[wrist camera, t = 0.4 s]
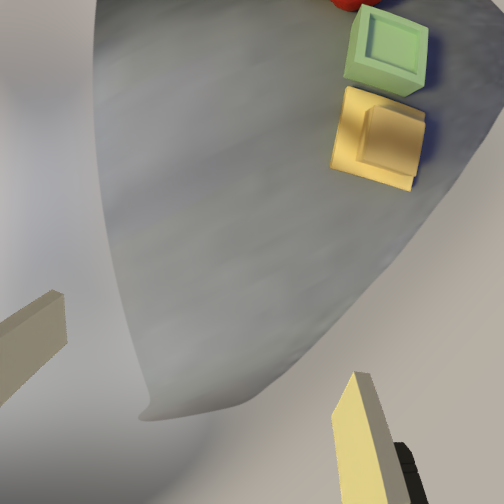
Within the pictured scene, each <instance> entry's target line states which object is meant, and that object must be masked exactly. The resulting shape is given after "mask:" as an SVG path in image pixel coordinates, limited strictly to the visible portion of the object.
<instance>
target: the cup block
mask: <svg viewBox="0 0 504 504" xmlns="http://www.w3.org/2000/svg"><path fill="white" fill-rule="evenodd" d="M427 47H428V28H427V27H424V26H422V25H420V24H417V23H415V22H412V21H410V20H407V19H405V18H402V17H400V16H397V15H394V14H392V13H389V12H386V11H383V10H380V9H377V8H374V7H371V6H368V5H364V4H362V5H361V7H360V9H359V11H358V13H357V15H356V17H355V20H354V22H353V24H352V27H351V34H350V40H349V47H348V53H347V59H346V65H345V71H344V78H347V79H351V80H354V81H358V82H361V83H364V84H368V85H371V86H374V87H377V88H380V89H383V90H386V91H389V92H392V93H395V94H397V95H400V96H403V97H406V96H407V95H409V94H411V93H413V92H415V91H416V90H418V89H420V88H422V87H424V84H425V73H426V62H427Z"/></svg>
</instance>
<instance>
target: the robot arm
mask: <svg viewBox="0 0 504 504" xmlns="http://www.w3.org/2000/svg"><path fill="white" fill-rule="evenodd" d="M66 344H67V333H66V321H65V306H64V294H62V293H59V292H57V291H54V290H51V291H49V292H47V293H46V294H44V295H43V296H41V297H40V298H38V299H36V300H35V301H33V302H31V303H30V304H28V305H27V306H25V307H24V308H22V309H20V310H19V311H18V312H16V313H14V314H13V315H11V316H10V317H8V318H7V319H5V320H4V321H2V322H1V323H0V407H1V406H2V405H3V404H4V403H5V402H6V401H7V400H8V399H9V398H10V397H11V396H12V395H13V394H14V393H15V392H16V391H17V390H18V389H19V388H20V387H21V386H22V385H23V384H24V383H25V382H26V381H27V380H28V379H29V378H30V377H32V375H34V374H35V373H36V372H37V371H38V370H39V369H40V368H41V367H42V366H43V365H44V364H45V363H46V362H47V361H49V360H50V359H51V358H52V357H53V356H54V355H55V354H56V353H57V352H58V351H59V350H60V349H62V348H63V347H64V346H65V345H66ZM331 419H332V425H333V432H334V440H335V447H336V454H337V462H338V470H339V478H340V487H341V496H342V504H429V503H428V501H427V498H426V495H425V491H424V488H423V485H422V482H421V479H420V476H419V473H417V472H418V470H417V467H416V465H415V461H414V458H413V455H412V452H411V451H410V450H409V448H408V447H407V446H406V445H405V444H404V443H403V442H393V440H392V437H391V434H390V431H389V428H388V425H387V422H386V419H385V416H384V413H383V410H382V407H381V404H380V401H379V398H378V395H377V392H376V390H375V387H374V384H373V381H372V378H371V376H370V374H369V373H362V372H355V371H354V372H353V374H352V376H351V378H350V380H349V382H348V384H347V387H346V388H345V390H344V392H343V394H342V396H341V399H340V401H339V402H338V404H337V406H336V408H335V410H334V412H333V414H332V416H331Z"/></svg>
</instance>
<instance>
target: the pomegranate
mask: <svg viewBox="0 0 504 504" xmlns="http://www.w3.org/2000/svg"><path fill="white" fill-rule="evenodd" d="M330 1H332V2H333V3H334V5H335V6H336V7H338V8H340V9H342V10H345V11H354V10H359V9H360V7H361V5H362V4H364V5H368V6H371V7H372V6H373V5H375V4H378V3H380V2H381V1H382V0H330Z"/></svg>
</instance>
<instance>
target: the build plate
mask: <svg viewBox="0 0 504 504" xmlns="http://www.w3.org/2000/svg"><path fill="white" fill-rule="evenodd" d="M424 118H425V113H424V112H422V111H419V110H417V109H414V108H412V107H409V106H407V105H404V104H401V103H399V102H396V101H393V100H390V99H387V98H384V97H382V96H379V95H376V94H372V93H369V92H366V91H363V90H360V89H356V88H353V87H350V86H347V88H346V89H345V94H344V99H343V104H342V110H341V115H340V120H339V125H338V130H337V134H336V139H335V144H334V149H333V153H332V158H331V162H330V167H329V168H331V169H335V170H339V171H343V172H346V173H350V174H353V175H357V176H360V177H364V178H367V179H371V180H374V181H377V182H381V183H384V184H387V185H391V186H394V187H397V188H400V189H403V190H406V191H410V190H411V186H412V182H413V177H414V176H415V177H416V173H417V168H418V163H419V158H420V153H421V148H422V142H423V136H424V130H425V123H424Z"/></svg>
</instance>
